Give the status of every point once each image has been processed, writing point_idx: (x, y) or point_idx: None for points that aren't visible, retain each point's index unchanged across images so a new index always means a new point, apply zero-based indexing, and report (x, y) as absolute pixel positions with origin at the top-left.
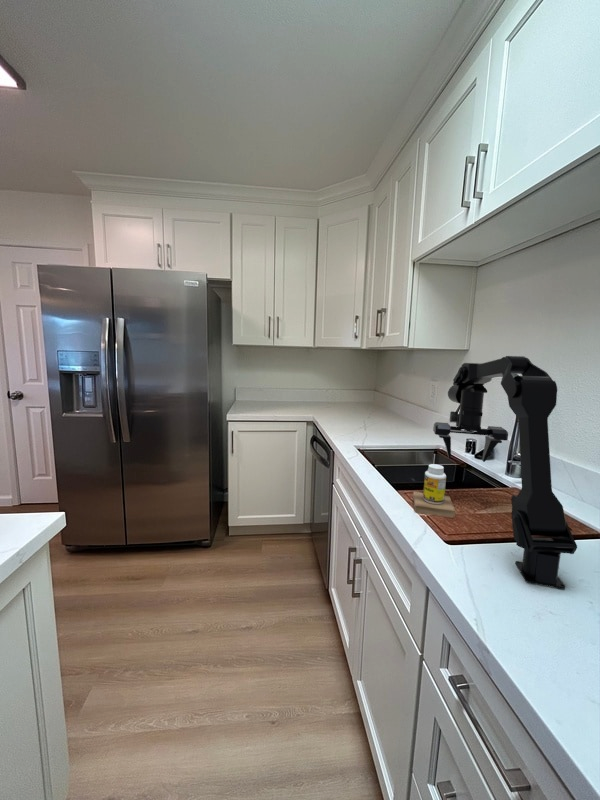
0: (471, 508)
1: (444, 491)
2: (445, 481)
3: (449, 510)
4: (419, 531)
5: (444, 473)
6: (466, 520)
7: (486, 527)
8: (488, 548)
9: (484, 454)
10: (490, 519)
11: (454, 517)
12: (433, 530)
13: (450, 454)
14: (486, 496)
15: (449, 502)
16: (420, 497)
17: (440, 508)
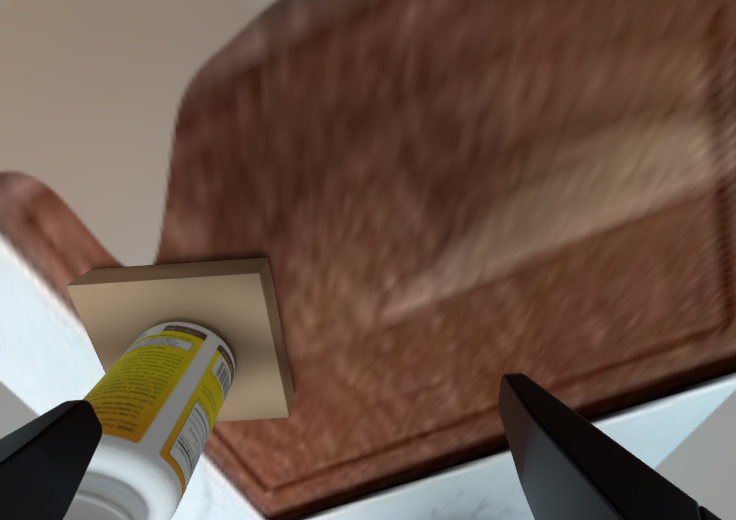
0: (372, 279)
1: (215, 419)
2: (191, 475)
3: (266, 417)
4: (193, 500)
5: (155, 492)
6: (337, 393)
7: (400, 415)
8: (379, 512)
9: (545, 513)
10: (432, 354)
11: (293, 394)
12: (231, 483)
13: (67, 503)
14: (498, 57)
15: (263, 347)
16: (123, 344)
17: (230, 416)
